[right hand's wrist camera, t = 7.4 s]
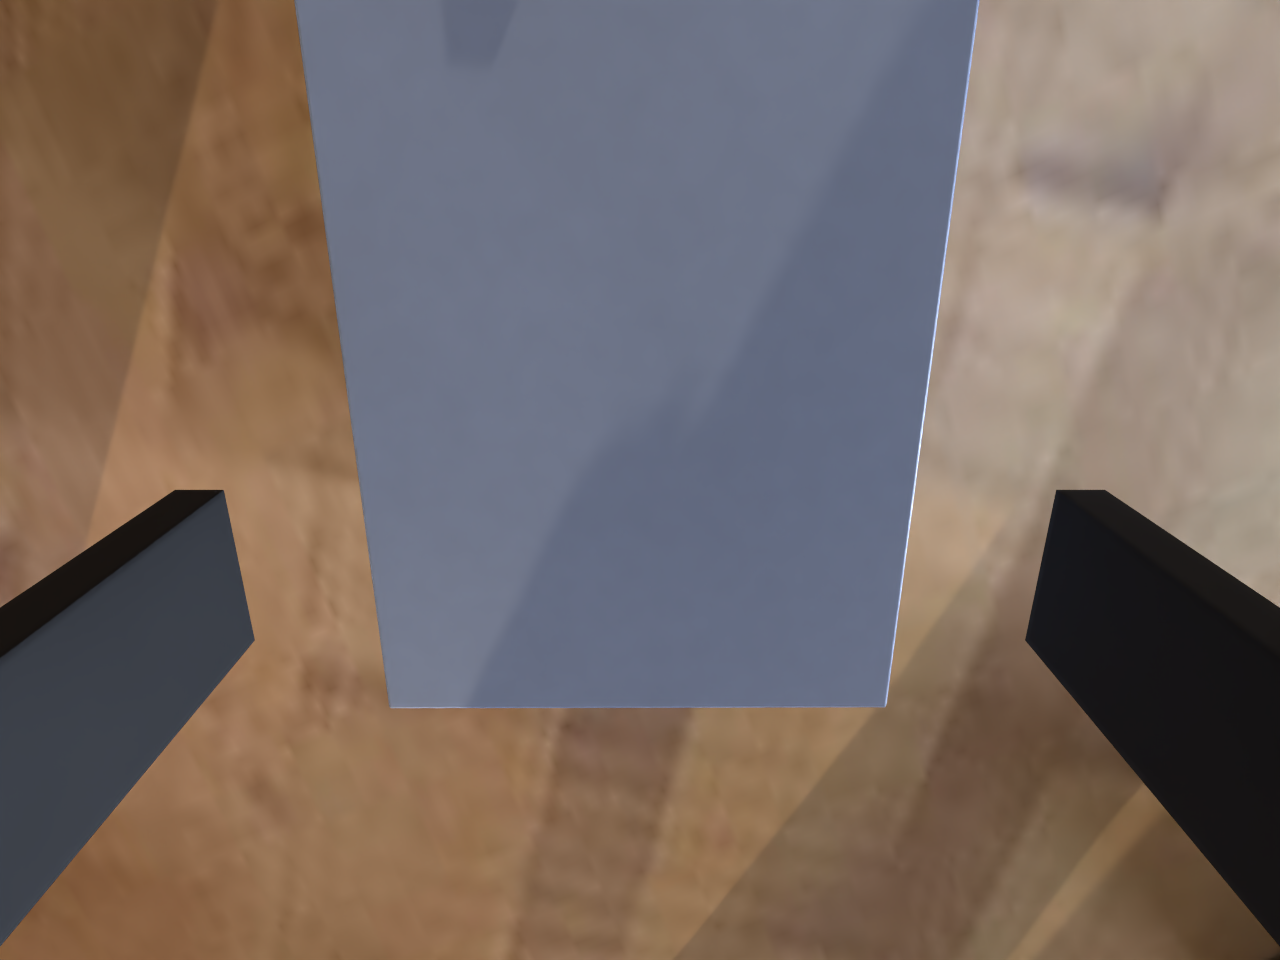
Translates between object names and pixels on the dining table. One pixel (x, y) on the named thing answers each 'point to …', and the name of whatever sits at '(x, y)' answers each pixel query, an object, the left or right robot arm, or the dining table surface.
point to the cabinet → (637, 334)
